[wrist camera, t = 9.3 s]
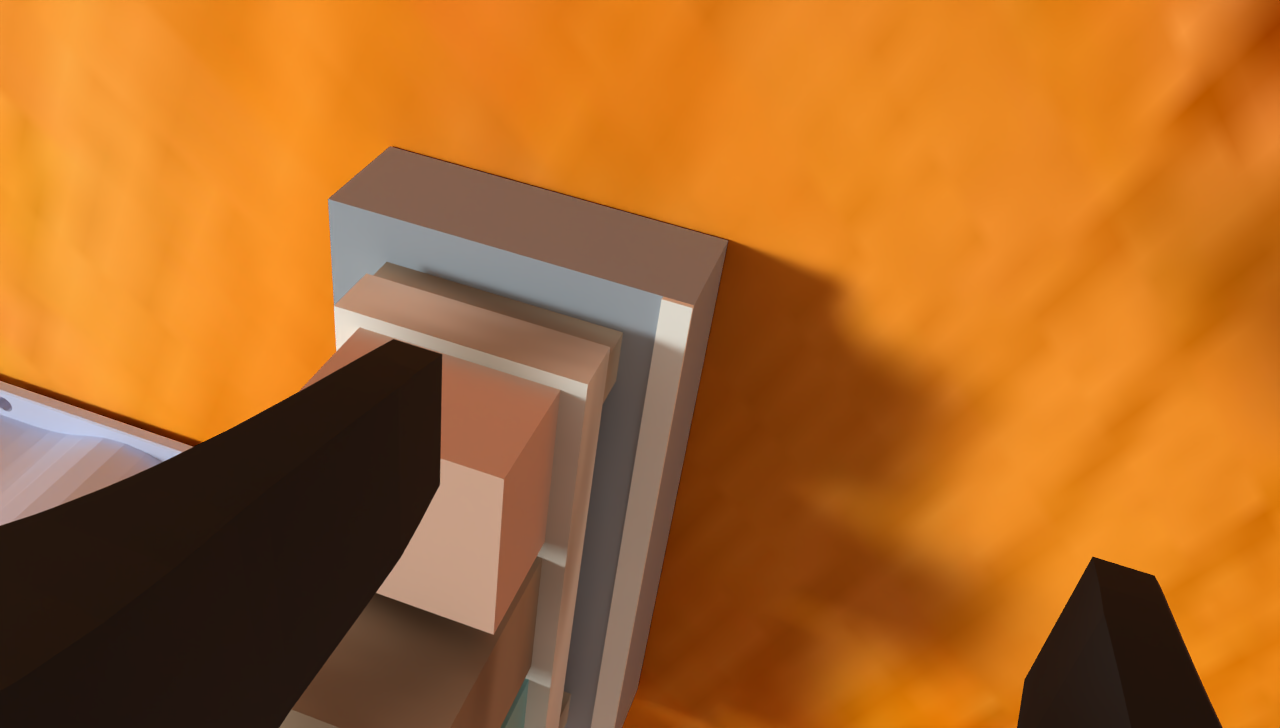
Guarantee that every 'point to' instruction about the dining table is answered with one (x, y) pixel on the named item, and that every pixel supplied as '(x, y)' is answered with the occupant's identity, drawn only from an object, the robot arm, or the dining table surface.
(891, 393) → the dining table surface
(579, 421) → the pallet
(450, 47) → the dining table surface
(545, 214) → the dock
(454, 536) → the block
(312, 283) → the dining table surface
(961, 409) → the dining table surface
